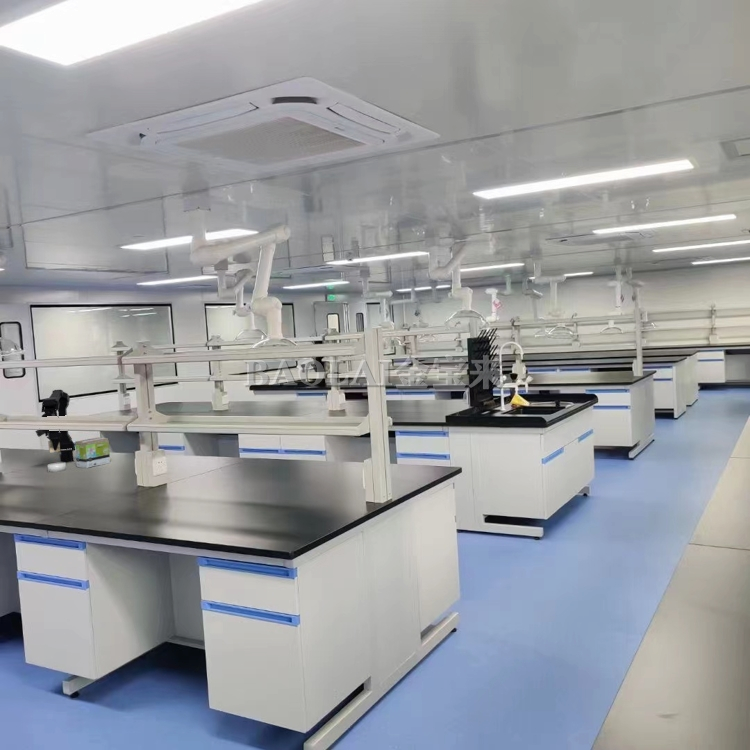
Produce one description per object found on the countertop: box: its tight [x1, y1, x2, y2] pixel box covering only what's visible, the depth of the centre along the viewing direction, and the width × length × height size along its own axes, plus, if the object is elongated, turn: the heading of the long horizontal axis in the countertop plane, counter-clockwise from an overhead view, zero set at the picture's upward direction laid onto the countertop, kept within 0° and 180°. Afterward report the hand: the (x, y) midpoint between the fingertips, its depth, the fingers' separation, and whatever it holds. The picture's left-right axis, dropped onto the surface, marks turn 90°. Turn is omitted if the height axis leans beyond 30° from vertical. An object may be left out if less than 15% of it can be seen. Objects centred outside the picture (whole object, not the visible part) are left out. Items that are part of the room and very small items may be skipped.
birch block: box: [47, 440, 60, 454], centre depth 367 cm, size 5×5×6 cm
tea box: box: [74, 437, 111, 469], centre depth 377 cm, size 15×10×15 cm, turn 148°
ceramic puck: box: [47, 461, 67, 474], centre depth 367 cm, size 9×9×4 cm
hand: (54, 449), depth 367 cm, fingers closed on birch block, 5 cm apart
